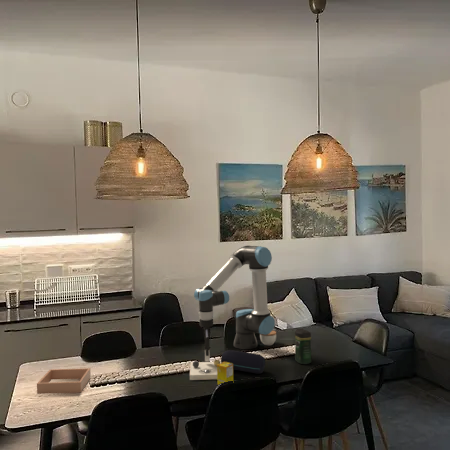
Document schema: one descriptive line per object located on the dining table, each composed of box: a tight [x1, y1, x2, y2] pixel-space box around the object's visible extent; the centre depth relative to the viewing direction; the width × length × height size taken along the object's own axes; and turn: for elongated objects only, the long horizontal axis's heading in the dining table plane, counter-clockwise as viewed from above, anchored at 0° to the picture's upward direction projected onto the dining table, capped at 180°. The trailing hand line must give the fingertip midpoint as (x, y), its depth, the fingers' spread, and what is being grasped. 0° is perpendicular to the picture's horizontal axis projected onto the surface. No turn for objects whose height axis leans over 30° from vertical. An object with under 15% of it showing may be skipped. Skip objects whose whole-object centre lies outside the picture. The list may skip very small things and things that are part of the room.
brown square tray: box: [36, 367, 91, 395], centre depth 241 cm, size 21×20×5 cm
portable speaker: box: [220, 349, 266, 375], centre depth 259 cm, size 25×10×10 cm, turn 60°
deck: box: [189, 361, 221, 381], centre depth 257 cm, size 20×18×2 cm
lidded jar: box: [259, 329, 277, 346], centre depth 308 cm, size 11×11×9 cm
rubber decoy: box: [192, 360, 200, 367], centre depth 258 cm, size 3×3×3 cm
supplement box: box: [216, 362, 234, 386], centre depth 238 cm, size 6×6×11 cm
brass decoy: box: [213, 359, 221, 366], centre depth 260 cm, size 3×3×3 cm
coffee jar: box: [294, 328, 312, 365], centre depth 272 cm, size 10×8×19 cm
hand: (207, 360), depth 264 cm, fingers closed
